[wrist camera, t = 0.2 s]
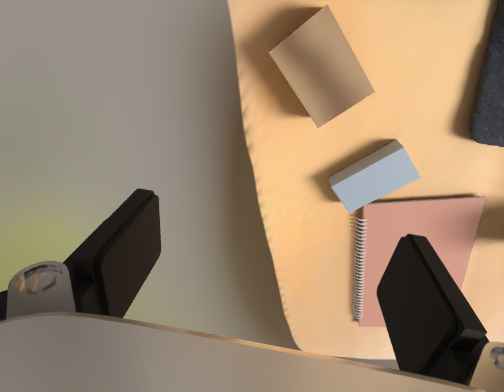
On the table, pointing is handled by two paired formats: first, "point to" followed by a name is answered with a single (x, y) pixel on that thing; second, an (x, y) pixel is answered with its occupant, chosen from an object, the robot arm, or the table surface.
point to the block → (322, 67)
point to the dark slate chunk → (491, 90)
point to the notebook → (418, 223)
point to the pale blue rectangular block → (374, 176)
